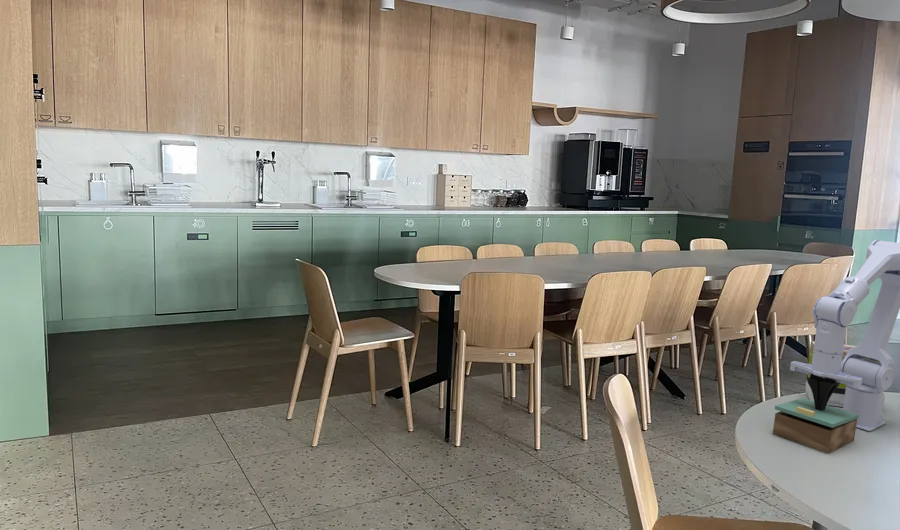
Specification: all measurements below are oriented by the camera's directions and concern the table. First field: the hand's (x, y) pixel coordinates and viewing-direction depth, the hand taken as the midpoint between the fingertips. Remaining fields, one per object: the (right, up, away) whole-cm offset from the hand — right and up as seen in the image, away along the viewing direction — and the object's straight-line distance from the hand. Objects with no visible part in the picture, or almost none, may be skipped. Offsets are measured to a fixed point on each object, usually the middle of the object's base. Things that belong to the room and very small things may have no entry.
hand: (819, 409), depth 153 cm
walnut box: (-2, -6, 0) cm, 6 cm away
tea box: (+18, -4, +25) cm, 31 cm away
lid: (-1, -1, -1) cm, 2 cm away
